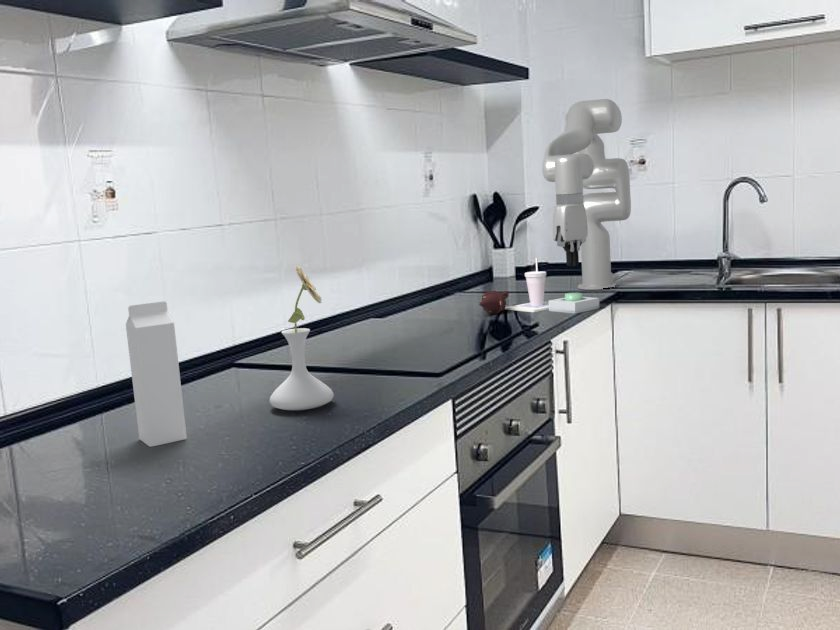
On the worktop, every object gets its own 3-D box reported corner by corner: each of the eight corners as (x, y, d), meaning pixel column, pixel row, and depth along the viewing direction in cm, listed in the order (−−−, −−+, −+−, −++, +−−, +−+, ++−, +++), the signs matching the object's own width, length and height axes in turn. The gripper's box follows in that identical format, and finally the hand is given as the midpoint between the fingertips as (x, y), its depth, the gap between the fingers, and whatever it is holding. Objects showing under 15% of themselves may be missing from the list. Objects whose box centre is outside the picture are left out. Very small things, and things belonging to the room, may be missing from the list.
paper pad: (538, 303, 259) (538, 300, 259) (567, 305, 249) (567, 303, 249) (505, 309, 250) (504, 307, 250) (534, 312, 241) (533, 309, 241)
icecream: (493, 295, 234) (519, 293, 247) (471, 288, 238) (497, 286, 251) (488, 319, 236) (514, 315, 248) (466, 312, 240) (492, 308, 252)
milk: (139, 439, 136) (122, 304, 133) (176, 431, 140) (160, 299, 137) (149, 447, 131) (132, 307, 128) (188, 439, 135) (171, 302, 131)
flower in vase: (320, 416, 143) (307, 269, 140) (259, 415, 146) (245, 271, 143) (347, 396, 156) (336, 261, 152) (290, 396, 159) (278, 264, 155)
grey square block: (572, 306, 248) (572, 296, 247) (599, 308, 240) (599, 298, 239) (548, 310, 242) (548, 300, 241) (575, 313, 234) (574, 302, 234)
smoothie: (541, 306, 246) (538, 258, 244) (521, 306, 250) (519, 258, 248) (551, 303, 251) (549, 256, 249) (532, 303, 255) (530, 256, 253)
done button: (573, 304, 244) (572, 292, 244) (586, 305, 240) (585, 293, 240) (561, 306, 241) (561, 294, 241) (574, 308, 237) (574, 295, 237)
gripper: (577, 198, 244) (580, 261, 247) (541, 202, 235) (544, 268, 238) (597, 197, 238) (600, 262, 241) (561, 202, 229) (564, 269, 232)
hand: (572, 265), depth 240 cm, fingers closed
